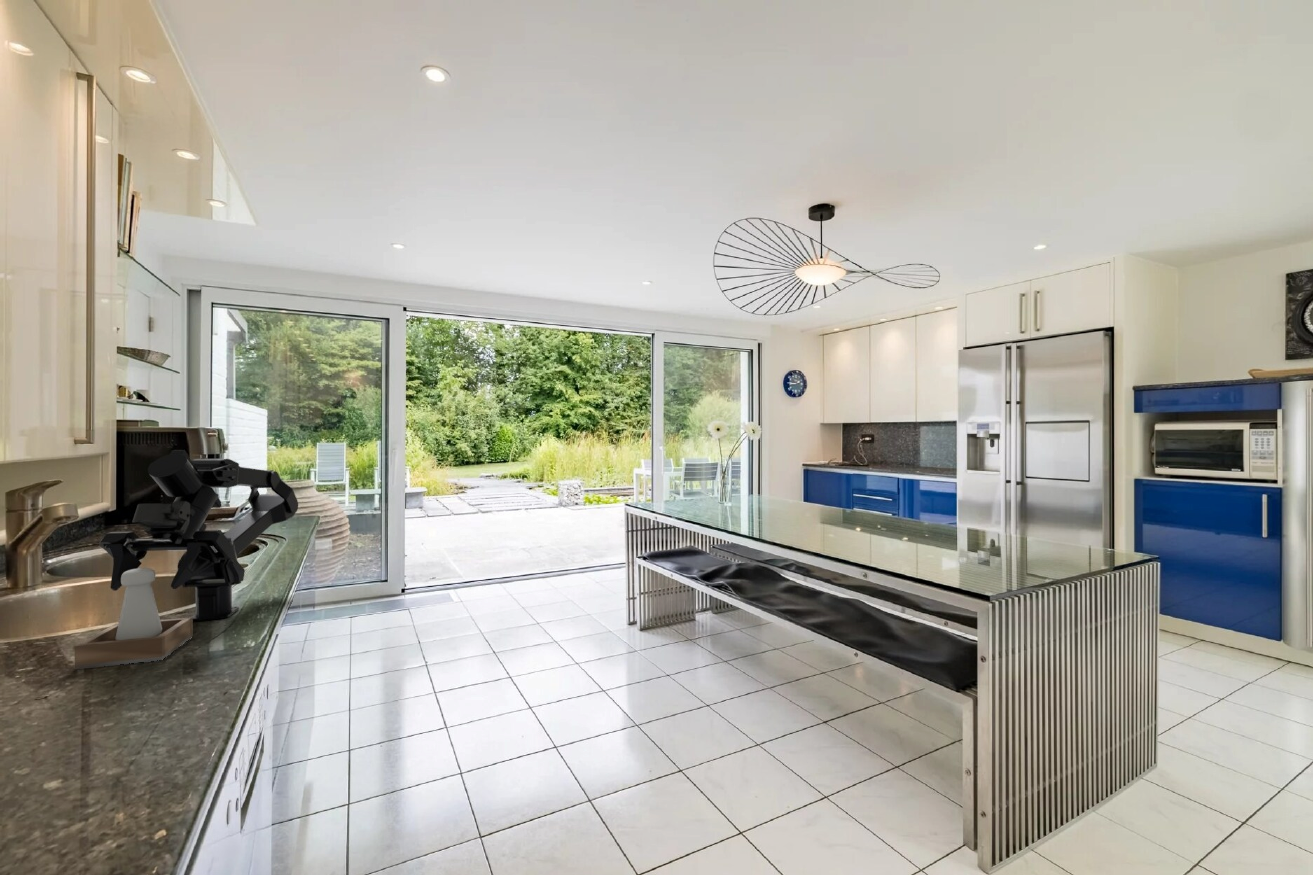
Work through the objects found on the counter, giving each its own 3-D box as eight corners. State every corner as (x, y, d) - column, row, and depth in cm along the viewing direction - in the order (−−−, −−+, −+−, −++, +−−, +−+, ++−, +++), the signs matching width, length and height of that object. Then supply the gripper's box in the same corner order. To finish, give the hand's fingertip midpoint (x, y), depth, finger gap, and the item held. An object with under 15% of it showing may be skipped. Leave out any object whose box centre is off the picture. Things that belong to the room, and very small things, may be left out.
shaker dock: (115, 644, 100) (115, 623, 100) (192, 637, 103) (192, 617, 103) (74, 669, 90) (74, 645, 90) (162, 660, 93) (161, 637, 93)
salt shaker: (169, 645, 98) (168, 567, 98) (126, 657, 93) (125, 575, 93) (151, 639, 101) (150, 564, 100) (108, 651, 95) (107, 571, 95)
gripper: (106, 485, 102) (49, 563, 91) (222, 484, 104) (179, 560, 93) (142, 523, 110) (93, 599, 99) (249, 521, 112) (212, 596, 101)
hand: (143, 588), depth 98 cm, fingers open, 9 cm apart
